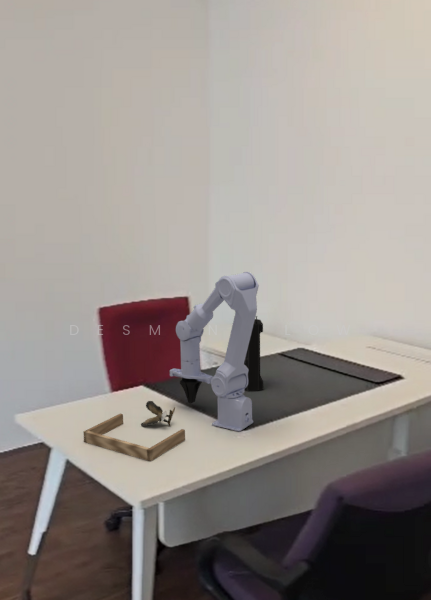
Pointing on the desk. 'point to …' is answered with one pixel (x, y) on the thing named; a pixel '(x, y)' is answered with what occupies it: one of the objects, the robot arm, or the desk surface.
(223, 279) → the robot arm
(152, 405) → the eagle figurine
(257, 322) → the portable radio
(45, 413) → the desk surface
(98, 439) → the box
